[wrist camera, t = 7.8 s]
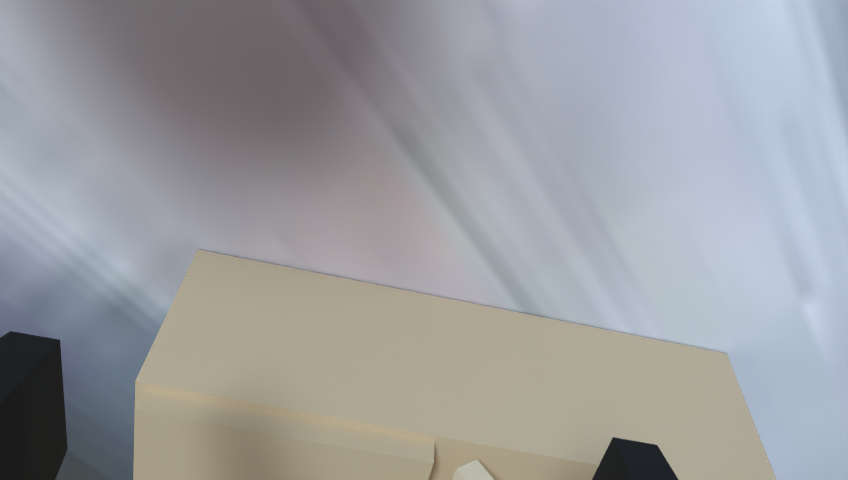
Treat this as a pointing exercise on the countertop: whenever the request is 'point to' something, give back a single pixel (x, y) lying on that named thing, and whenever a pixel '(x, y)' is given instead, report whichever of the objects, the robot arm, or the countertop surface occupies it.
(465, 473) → the carton flap
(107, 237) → the countertop surface
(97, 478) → the countertop surface
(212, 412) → the carton
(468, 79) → the countertop surface
